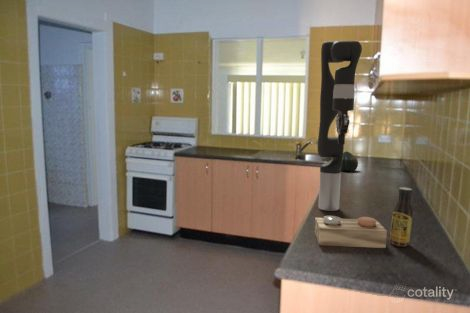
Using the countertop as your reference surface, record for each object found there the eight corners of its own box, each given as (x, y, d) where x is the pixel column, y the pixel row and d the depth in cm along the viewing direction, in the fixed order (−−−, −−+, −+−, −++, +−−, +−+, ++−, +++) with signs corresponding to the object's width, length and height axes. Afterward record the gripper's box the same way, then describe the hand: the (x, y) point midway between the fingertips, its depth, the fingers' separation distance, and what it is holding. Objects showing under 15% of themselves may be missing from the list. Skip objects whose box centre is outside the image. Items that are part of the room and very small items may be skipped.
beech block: (314, 233, 138) (315, 217, 137) (375, 235, 137) (376, 219, 136) (319, 245, 126) (320, 228, 126) (385, 247, 125) (386, 230, 124)
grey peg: (321, 236, 135) (322, 215, 134) (338, 236, 135) (339, 215, 134) (323, 242, 129) (324, 220, 128) (341, 242, 129) (342, 221, 128)
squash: (350, 166, 261) (356, 149, 267) (331, 164, 271) (337, 148, 277) (356, 177, 270) (362, 160, 276) (337, 175, 280) (344, 159, 286)
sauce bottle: (386, 244, 128) (390, 187, 126) (393, 239, 133) (398, 185, 130) (405, 249, 124) (410, 191, 121) (412, 244, 128) (417, 188, 125)
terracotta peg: (354, 237, 134) (356, 216, 133) (371, 238, 134) (373, 217, 133) (359, 243, 128) (360, 221, 127) (376, 244, 128) (378, 222, 127)
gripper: (330, 97, 142) (327, 142, 145) (336, 96, 129) (334, 146, 132) (349, 97, 142) (347, 143, 144) (358, 97, 129) (355, 146, 131)
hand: (341, 144), depth 138 cm, fingers closed
